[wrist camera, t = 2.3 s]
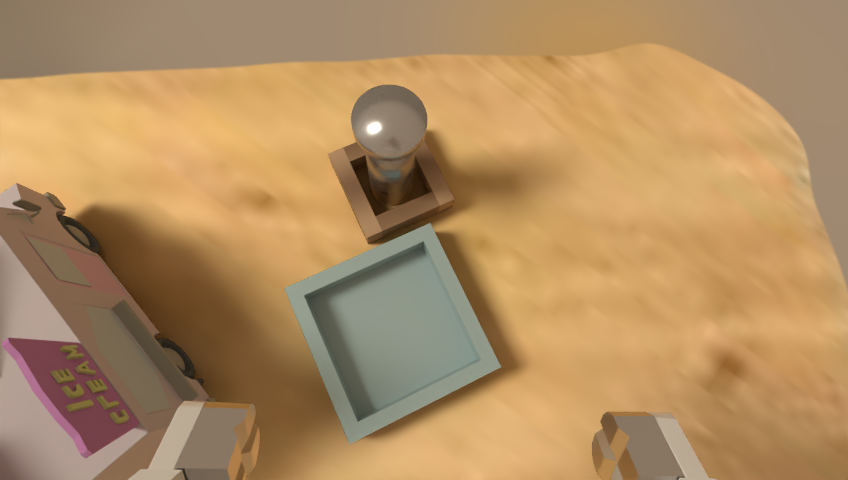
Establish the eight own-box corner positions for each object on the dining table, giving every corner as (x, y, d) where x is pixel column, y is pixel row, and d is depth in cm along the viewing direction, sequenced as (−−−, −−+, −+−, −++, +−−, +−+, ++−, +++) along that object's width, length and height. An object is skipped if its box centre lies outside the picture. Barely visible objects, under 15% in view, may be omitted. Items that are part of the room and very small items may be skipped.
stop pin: (427, 198, 37) (439, 136, 27) (377, 220, 37) (370, 166, 26) (404, 152, 38) (407, 74, 27) (355, 172, 37) (339, 101, 27)
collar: (451, 207, 37) (454, 199, 35) (368, 243, 36) (366, 237, 34) (412, 130, 38) (413, 118, 37) (331, 164, 37) (327, 153, 36)
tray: (493, 366, 35) (501, 367, 32) (352, 437, 33) (349, 444, 31) (427, 231, 37) (430, 222, 34) (291, 292, 35) (284, 288, 33)
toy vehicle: (81, 197, 36) (-134, 91, 21) (243, 401, 33) (124, 440, 19) (-34, 278, 34) (-355, 223, 20) (128, 500, 32) (-102, 629, 17)
